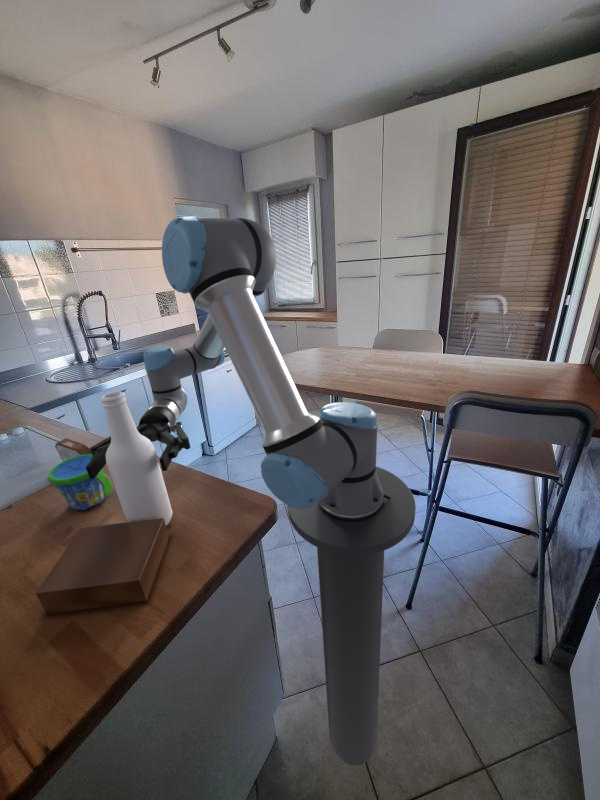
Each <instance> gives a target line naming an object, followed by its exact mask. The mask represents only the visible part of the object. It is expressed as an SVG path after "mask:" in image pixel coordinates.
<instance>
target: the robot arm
mask: <svg viewBox="0 0 600 800" xmlns="http://www.w3.org/2000/svg"><path fill="white" fill-rule="evenodd" d="M161 260H162V261H161V262H162V267H163V271H164V274H165V277H166V279H167V281H168V284H169V285H170V286H171V288H172V289H173V290H175V291H176V292H178V293H182V294H183V295H184V294H185V295H187V294H189V295H190V297H191V299H192V302H193V304H194V305H195V307H196V308H197V309H199V310H202V311H204V312H206V313H208V314H207V316H206V318H205V321H204V323H203V325H202V327H201V329H200V331H199V333H198V335H197V337H196V339H195V341H194V343H193V345H192V346H189V347H186V348H182V349H178V350H175V351H174V349H173V347H171V346H168V345H160V346H154V347H150V348H147V349H146V350H145V351H144V352H143V364H144V369H145V371H146V374H147V375H146V376H147V379H148V381H149V386H150V389H151V394H152V397H153V403H151V405H150V406H149V407H148V408H147V410H146V411H145V412H144V414H143V415H142V416H141V417H140V419H139V422H138V425H137V426H136V428H137V430H138V432H139V433H140V434H141V435H143V436H145V437H146V438H148V439H149V440H150V441H151V443H155V442H160V443H162V444H165V445H166V446H165V448H164V450H163V452H162V453H161V456H160V458H158V461H159V465H160V468H161V472H167V471H168V470H169V469H168V468H169V466H170V464H171V463H172V460H173V459H176V458H177V457H178V455H179V453H180V452H181V451H182V450H183V449H184V450H190V449H191V443H190V439H189V436H188V434H187V433H186V431H185V430H184V426H183V422H182V421H178V420H179V419H180V416H181V415H182V414H183V412H184V411H185V410H186V407H187V404H188V401H189V397H188V393H187V391H186V390H185V389H184V388H183V387H182V383H181V379H184V378H187V377H190V376H194V375H196V374H200V373H203V372H206V371H209V370H213V369H216V368H217V367H220V366H221V365H223V363H225V361H226V360H225V359H226V358H225V357H226V353H225V350H226V352H227V355H228V357H229V358H230V360H231V363H232V365H233V368H234V370H235V371H236V374H237V376H238V378H239V380H240V382H241V385H242V386H243V388H244V391H245V392H246V395H247V397H248V399H249V401H250V403H251V405H252V407H253V409H254V411H255V412H254V413H255V414H256V416H257V418H258V420H259V422H260V424H261V427H262V428H263V430H264V436H263V439H262V442H261V446H262V448H263V450H264V452H265V456H264V458H263V459H262V461H261V462H260V468H261V469H260V474H261V477H262V481H264V483H265V485H266V487H267V488H268V490H269V491H270V492H271V494H273V495H274V497H276V498H277V499H278V500H279V501H281V502H283V503H284V504H285V505H286V506H287V505H289V506H291V507H293V508H297V509H307V508H310V507H312V506H314V505H315V504H316V503H318V505H319V507H320V509H321V510H322V511H323V512H324V513H326V514H327V515H329V516H330V517H333V518H335V519H338V520H342V521H361V520H365V519H368V518H371V517H372V516H374V515H376V514H377V513H378V512H379V511H380V509H381V508H382V505H383V497H384V498H387V499H389V500H390V498H391V497H390V496H388V495H386V494H384V493H383V489H382V486H381V484H380V481H379V478H378V475H377V473H376V467H377V449H378V447H377V446H378V445H377V444H378V441H377V440H378V429H379V426H378V417H377V413H376V412H375V411H374V410H373V409H372V408H371V407H369V406H366V405H364V404H361V403H355V402H347V401H344V402H342V401H339V402H332V403H328V404H325V405H324V406H322V407H321V408H320V412H319V416H317V415H315V414H312V413H310V412H308V410H307V408H306V406H305V404H304V401H303V399H302V397H301V395H300V393H299V391H298V389H297V386H296V384H295V382H294V380H293V378H292V376H291V374H290V371H289V369H288V367H287V365H286V363H285V361H284V359H283V355H282V354H281V352H280V350H279V348H278V346H277V343H276V341H275V340H274V337H273V335H272V333H271V331H270V330H271V329H270V328H269V326H268V325H267V321H266V320H265V318H264V316H263V313H262V311H261V309H260V307H259V305H258V303H257V301H256V299H255V298H256V297H259V296H261V295H263V294H264V293H265V291H266V289H267V288H268V287H269V285H270V283H271V281H272V279H273V277H274V274H275V270H276V267H277V250H276V245H275V243H274V240H273V238H272V236H271V234H270V233H269V232H268V230H267V229H266V228H265V227H264V226H262V225H261V224H260V223H258V222H257V221H256V220H255V221H254V220H253V219H249V218H244V217H237V218H234V217H232V218H231V217H202V216H199V215H196V214H194V215H192V216H178V217H175V218H173V219H172V220H171V221H170V222H169V223H168V224H167V226H166V228H165V230H164V232H163V236H162V241H161ZM224 349H225V350H224ZM172 432H173V433H174V434H175V435H173V434H171V433H172ZM110 444H111V435H110V436H108V437H106V438H104V439H103V440H101V441H100V442H98V443H96V444H94V445H93V446H91V447H89V448H90V450H91V453H92V456H93V457H92V458H91V459H90V461H91V462H90V463H89V464H88V465H87V466H86V470H87V472H88V475H89V477H90V479H94V478H95V477H96V476H97V474H98V473H99V472H100V471H101V469H102V470H103V468H104V467H105V466H106V465H107V463H106V452H107V449H108V447H109V446H110Z"/></svg>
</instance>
